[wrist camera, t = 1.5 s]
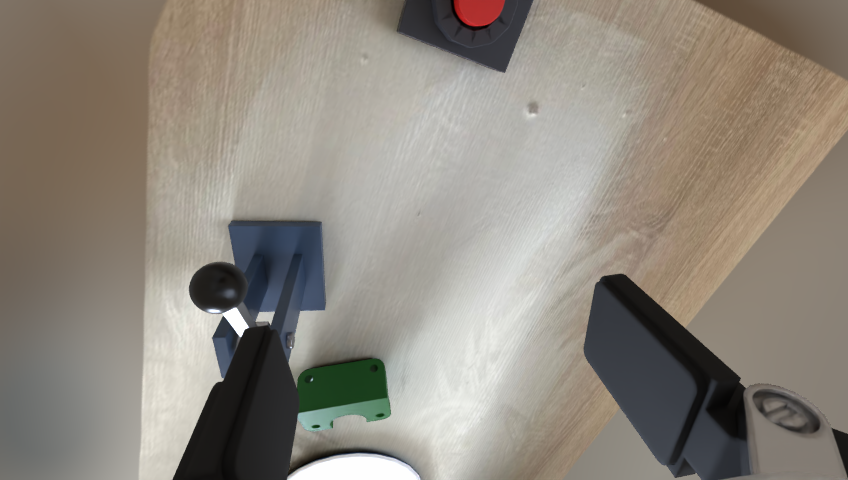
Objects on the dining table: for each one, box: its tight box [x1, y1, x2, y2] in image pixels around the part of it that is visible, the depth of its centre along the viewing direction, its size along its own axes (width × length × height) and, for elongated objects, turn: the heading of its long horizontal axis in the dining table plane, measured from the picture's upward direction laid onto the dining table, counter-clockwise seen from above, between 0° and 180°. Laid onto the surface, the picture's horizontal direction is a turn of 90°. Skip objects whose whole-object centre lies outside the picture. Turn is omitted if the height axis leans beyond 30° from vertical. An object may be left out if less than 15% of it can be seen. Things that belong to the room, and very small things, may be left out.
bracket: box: [212, 221, 326, 378], centre depth 36 cm, size 11×9×14 cm
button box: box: [397, 0, 533, 73], centre depth 31 cm, size 10×8×4 cm
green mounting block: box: [297, 359, 391, 431], centre depth 49 cm, size 12×6×9 cm, turn 88°
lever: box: [189, 262, 271, 351], centre depth 27 cm, size 13×3×3 cm, turn 176°
